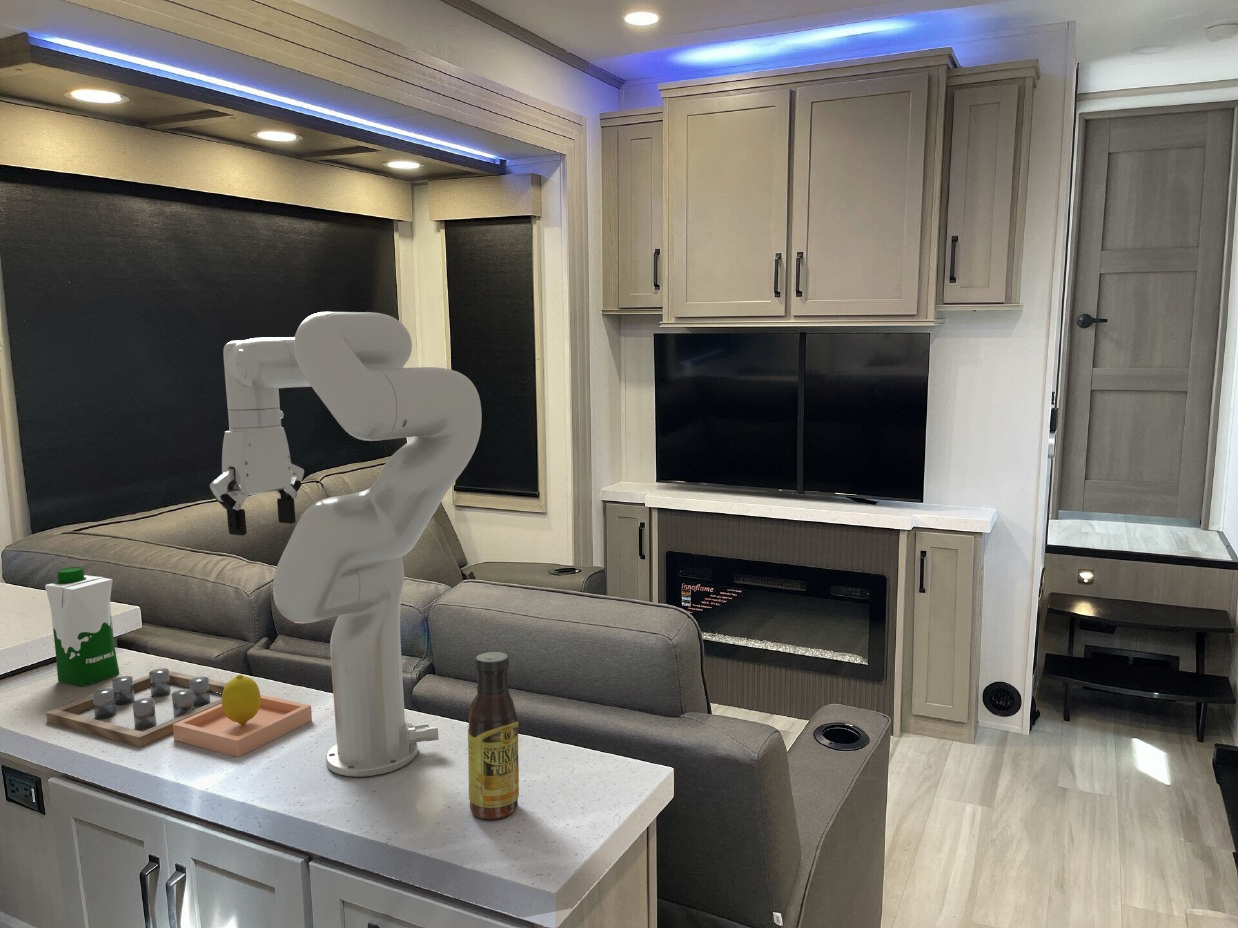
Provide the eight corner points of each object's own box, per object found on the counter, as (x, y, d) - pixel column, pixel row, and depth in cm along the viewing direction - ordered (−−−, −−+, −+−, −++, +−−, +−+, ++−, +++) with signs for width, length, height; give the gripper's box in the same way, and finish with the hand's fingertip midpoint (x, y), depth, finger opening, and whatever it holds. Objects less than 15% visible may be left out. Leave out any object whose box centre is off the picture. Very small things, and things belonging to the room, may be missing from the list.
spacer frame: (254, 696, 152) (253, 688, 152) (140, 746, 134) (139, 737, 134) (164, 677, 163) (163, 669, 163) (47, 721, 144) (46, 712, 144)
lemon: (268, 717, 141) (265, 668, 140) (251, 732, 136) (247, 681, 135) (235, 717, 142) (231, 668, 141) (216, 731, 136) (212, 681, 135)
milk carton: (95, 666, 170) (85, 563, 167) (128, 673, 166) (117, 567, 163) (49, 682, 162) (37, 574, 159) (82, 689, 158) (70, 578, 155)
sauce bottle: (487, 828, 109) (480, 670, 106) (460, 809, 113) (452, 657, 111) (531, 809, 113) (525, 656, 110) (503, 791, 118) (497, 644, 115)
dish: (312, 720, 142) (310, 705, 142) (238, 756, 130) (237, 740, 129) (249, 706, 148) (248, 691, 148) (174, 739, 136) (172, 724, 136)
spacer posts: (224, 703, 150) (222, 680, 150) (153, 733, 139) (151, 708, 138) (153, 687, 158) (151, 665, 158) (81, 714, 147) (78, 691, 146)
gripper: (281, 415, 149) (288, 517, 151) (190, 424, 134) (199, 537, 136) (314, 416, 146) (321, 520, 148) (225, 425, 130) (234, 541, 133)
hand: (263, 528), depth 142 cm, fingers open, 9 cm apart
